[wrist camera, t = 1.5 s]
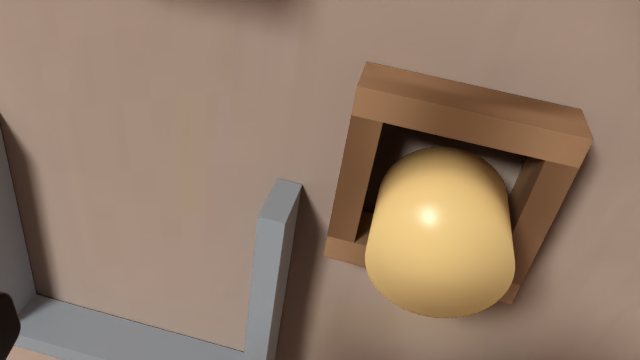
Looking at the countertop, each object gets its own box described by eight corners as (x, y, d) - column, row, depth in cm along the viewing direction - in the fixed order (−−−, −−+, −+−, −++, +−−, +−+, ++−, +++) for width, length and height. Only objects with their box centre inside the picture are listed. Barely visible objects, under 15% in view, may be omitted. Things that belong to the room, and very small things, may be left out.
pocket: (301, 184, 22) (285, 223, 20) (272, 372, 28) (258, 416, 26) (-26, 104, 23) (-74, 132, 21) (22, 302, 30) (-11, 338, 28)
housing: (581, 109, 18) (593, 139, 16) (507, 267, 22) (510, 304, 20) (366, 61, 18) (357, 85, 17) (333, 223, 22) (323, 256, 21)
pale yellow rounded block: (527, 164, 17) (538, 228, 14) (484, 263, 20) (487, 332, 17) (393, 133, 18) (381, 189, 15) (367, 233, 20) (353, 297, 17)
